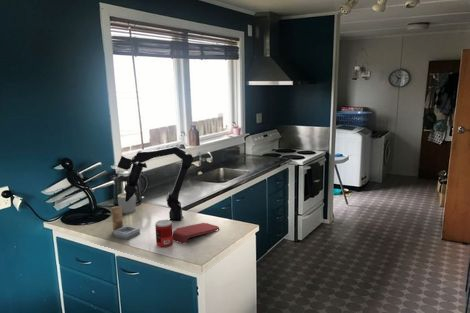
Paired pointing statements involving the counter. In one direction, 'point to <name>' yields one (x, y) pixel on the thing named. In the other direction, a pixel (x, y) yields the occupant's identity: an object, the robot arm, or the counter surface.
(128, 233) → the socket base
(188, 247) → the counter surface
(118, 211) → the tan round-ended cylinder
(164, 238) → the canned food
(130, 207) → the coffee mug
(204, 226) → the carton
